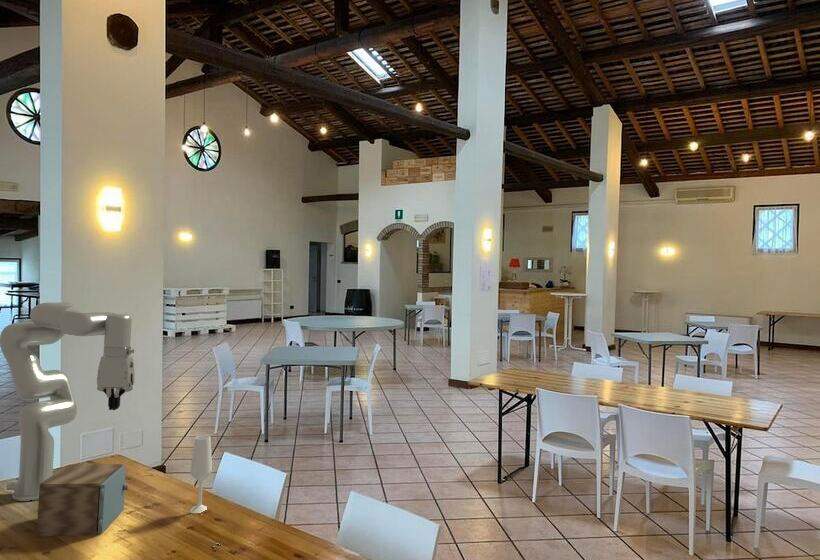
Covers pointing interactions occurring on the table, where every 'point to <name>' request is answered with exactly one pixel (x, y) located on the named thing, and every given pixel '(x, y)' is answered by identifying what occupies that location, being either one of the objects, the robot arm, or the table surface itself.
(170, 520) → the table surface
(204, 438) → the champagne flute
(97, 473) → the walnut cabinet
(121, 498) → the cabinet door
